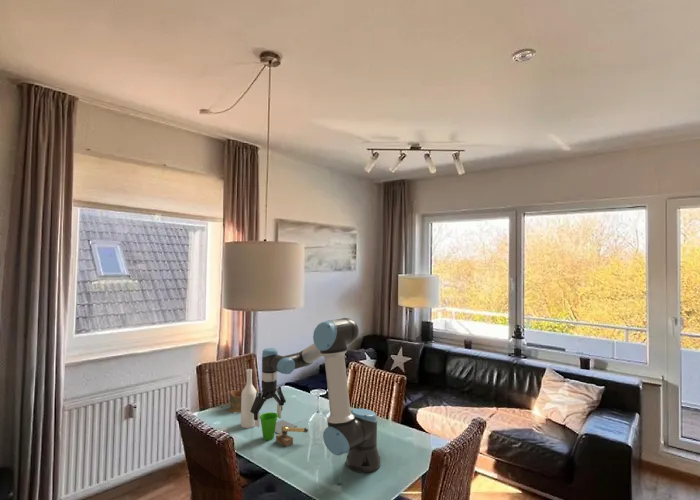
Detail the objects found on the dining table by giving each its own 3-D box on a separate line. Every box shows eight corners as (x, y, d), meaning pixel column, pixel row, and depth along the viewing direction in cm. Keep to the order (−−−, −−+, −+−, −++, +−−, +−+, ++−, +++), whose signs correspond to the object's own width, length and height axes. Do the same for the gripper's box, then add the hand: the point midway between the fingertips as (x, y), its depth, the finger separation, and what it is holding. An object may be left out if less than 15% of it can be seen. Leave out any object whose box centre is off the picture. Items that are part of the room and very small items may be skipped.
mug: (256, 413, 227) (256, 392, 227) (225, 412, 227) (226, 392, 228) (260, 405, 239) (261, 385, 239) (232, 405, 239) (232, 385, 239)
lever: (281, 432, 191) (281, 428, 191) (282, 430, 194) (282, 425, 194) (307, 433, 190) (307, 429, 190) (308, 431, 193) (308, 426, 193)
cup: (273, 443, 191) (273, 420, 191) (256, 441, 193) (256, 418, 193) (280, 434, 200) (280, 413, 200) (263, 433, 202) (264, 411, 202)
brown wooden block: (293, 443, 190) (293, 434, 190) (286, 446, 187) (286, 437, 187) (282, 438, 196) (282, 429, 196) (276, 441, 192) (276, 432, 193)
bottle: (245, 429, 205) (245, 372, 206) (238, 424, 211) (239, 369, 212) (259, 425, 211) (259, 369, 211) (252, 420, 217) (252, 366, 217)
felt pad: (296, 426, 209) (296, 426, 209) (279, 434, 200) (279, 433, 200) (282, 420, 217) (282, 419, 217) (264, 427, 208) (264, 426, 208)
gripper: (283, 372, 209) (282, 412, 209) (243, 383, 190) (242, 427, 190) (293, 375, 204) (292, 416, 204) (252, 387, 185) (251, 432, 185)
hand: (268, 421), depth 197 cm, fingers open, 13 cm apart
